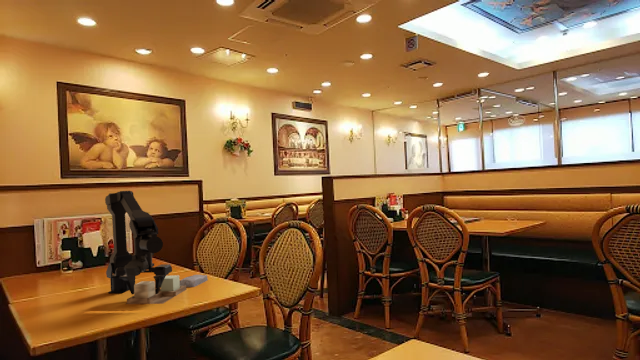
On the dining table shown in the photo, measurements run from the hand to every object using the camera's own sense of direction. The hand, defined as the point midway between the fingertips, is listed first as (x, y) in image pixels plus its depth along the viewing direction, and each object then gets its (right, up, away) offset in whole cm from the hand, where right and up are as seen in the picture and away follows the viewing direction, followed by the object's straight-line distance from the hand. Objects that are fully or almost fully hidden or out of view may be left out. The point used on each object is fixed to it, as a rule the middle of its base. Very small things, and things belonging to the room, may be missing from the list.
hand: (144, 294), depth 140 cm
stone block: (+9, -3, +22) cm, 24 cm away
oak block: (0, -2, 0) cm, 2 cm away
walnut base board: (+3, -3, +4) cm, 5 cm away
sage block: (+6, -2, +8) cm, 10 cm away
